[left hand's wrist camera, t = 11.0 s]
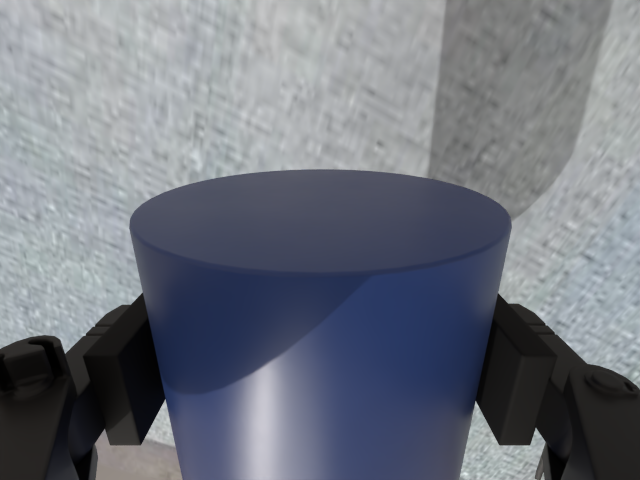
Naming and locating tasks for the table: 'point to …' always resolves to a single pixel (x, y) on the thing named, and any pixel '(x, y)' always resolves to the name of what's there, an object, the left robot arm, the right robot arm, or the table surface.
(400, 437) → the rod
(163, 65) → the table surface
